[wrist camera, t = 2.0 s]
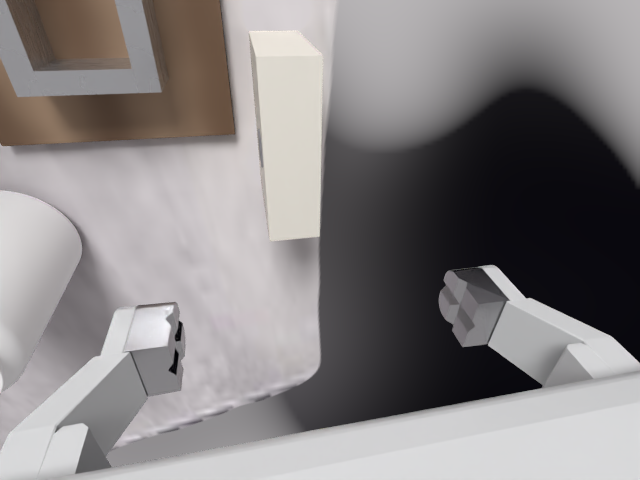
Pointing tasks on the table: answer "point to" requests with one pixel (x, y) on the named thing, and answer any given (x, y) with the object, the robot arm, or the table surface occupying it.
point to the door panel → (288, 130)
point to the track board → (132, 108)
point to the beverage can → (30, 275)
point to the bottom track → (81, 74)
